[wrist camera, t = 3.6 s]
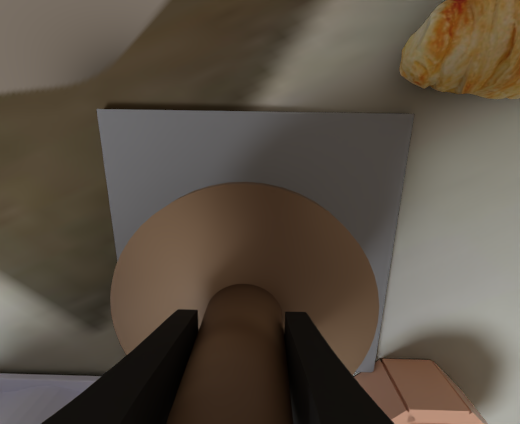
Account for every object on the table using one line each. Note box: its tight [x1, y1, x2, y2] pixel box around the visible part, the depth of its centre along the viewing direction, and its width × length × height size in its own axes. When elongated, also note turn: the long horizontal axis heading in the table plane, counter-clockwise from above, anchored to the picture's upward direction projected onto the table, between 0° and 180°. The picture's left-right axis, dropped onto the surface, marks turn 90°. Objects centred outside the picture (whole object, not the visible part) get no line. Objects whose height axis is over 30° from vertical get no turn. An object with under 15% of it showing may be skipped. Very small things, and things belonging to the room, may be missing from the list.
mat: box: [97, 109, 414, 372], centre depth 14 cm, size 14×14×1 cm
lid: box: [110, 182, 379, 424], centre depth 7 cm, size 9×9×5 cm
